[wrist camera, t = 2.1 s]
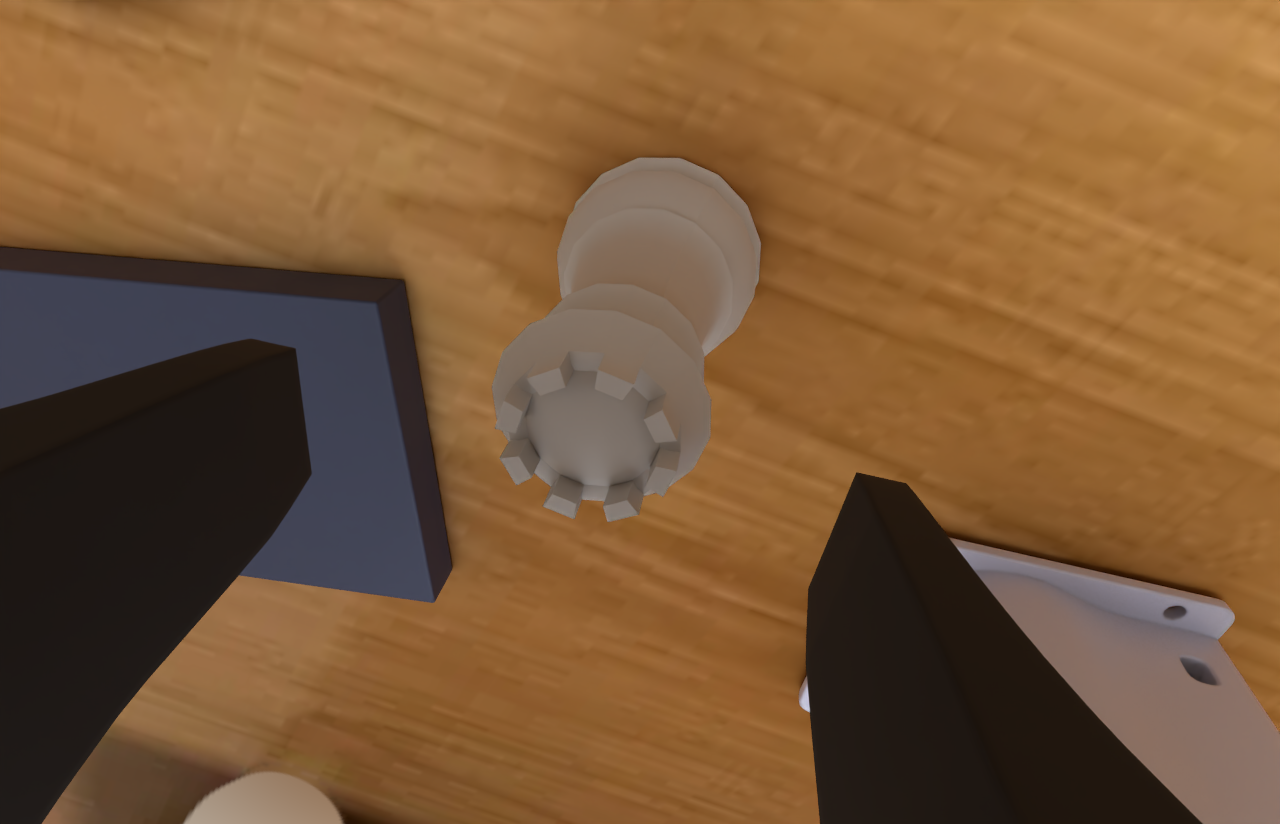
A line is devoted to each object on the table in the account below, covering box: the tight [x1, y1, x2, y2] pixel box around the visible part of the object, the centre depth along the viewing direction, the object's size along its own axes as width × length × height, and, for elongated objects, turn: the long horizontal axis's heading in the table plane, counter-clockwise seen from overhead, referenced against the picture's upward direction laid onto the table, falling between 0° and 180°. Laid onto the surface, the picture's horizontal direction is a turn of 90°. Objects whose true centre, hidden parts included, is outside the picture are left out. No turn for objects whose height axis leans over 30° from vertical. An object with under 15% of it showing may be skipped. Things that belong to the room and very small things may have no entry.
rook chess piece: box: [492, 158, 761, 522], centre depth 13 cm, size 4×4×8 cm
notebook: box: [0, 247, 452, 603], centre depth 20 cm, size 14×10×2 cm
